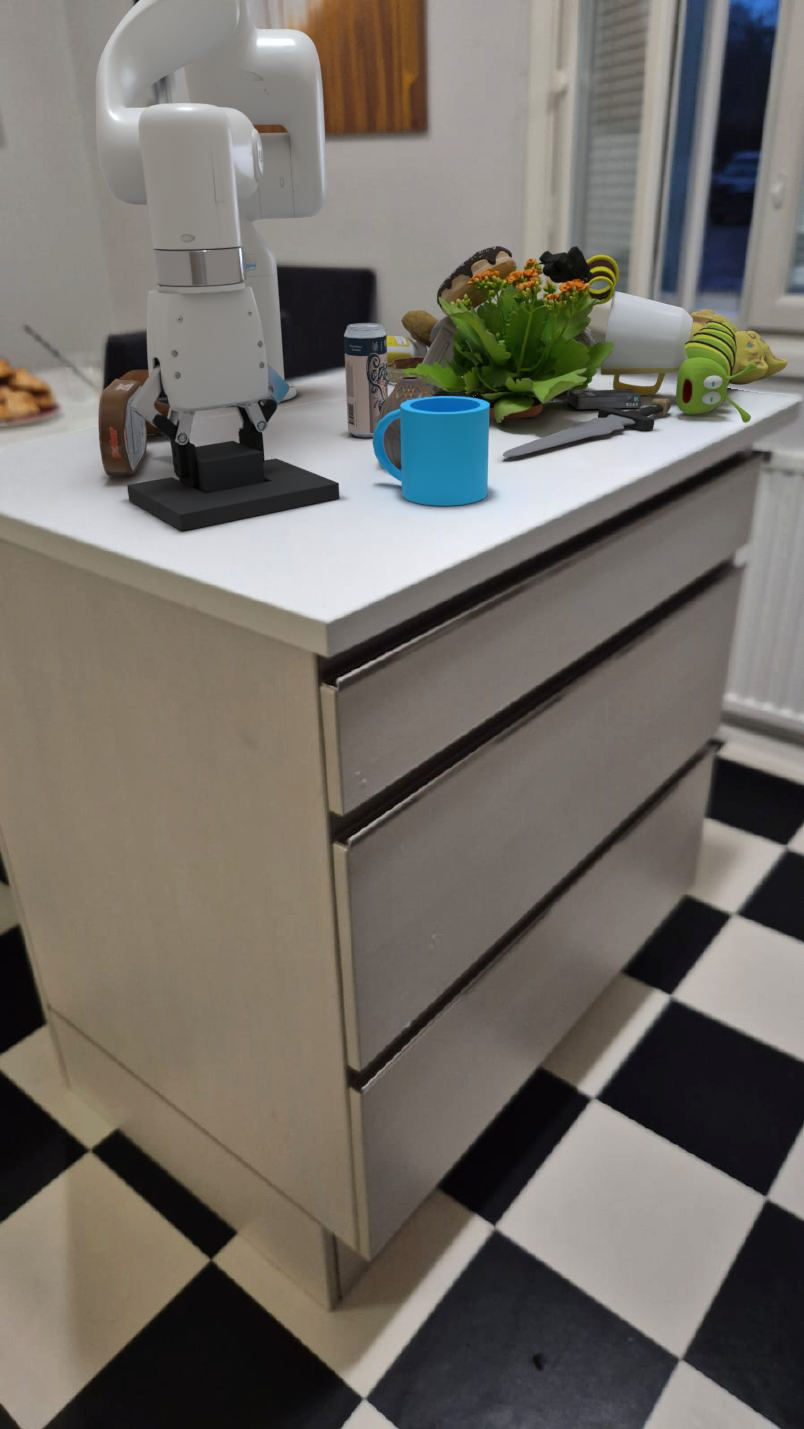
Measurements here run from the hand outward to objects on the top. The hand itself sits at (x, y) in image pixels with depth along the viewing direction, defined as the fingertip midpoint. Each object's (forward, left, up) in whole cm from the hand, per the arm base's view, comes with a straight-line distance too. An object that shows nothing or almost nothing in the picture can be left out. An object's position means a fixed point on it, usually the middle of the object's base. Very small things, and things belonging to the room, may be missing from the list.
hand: (221, 476), depth 94 cm
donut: (-19, +48, +11) cm, 53 cm away
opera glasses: (-13, +56, +12) cm, 59 cm away
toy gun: (-13, +52, +16) cm, 56 cm away
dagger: (-3, +58, 0) cm, 58 cm away
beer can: (-12, +25, -2) cm, 28 cm away
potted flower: (-12, +45, -2) cm, 46 cm away
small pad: (0, 0, -1) cm, 1 cm away
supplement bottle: (-45, +46, +2) cm, 64 cm away
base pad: (+2, 0, -2) cm, 3 cm away
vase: (+2, +21, -2) cm, 21 cm away
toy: (-2, +69, +4) cm, 69 cm away
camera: (-30, +48, 0) cm, 56 cm away
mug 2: (-3, +69, +4) cm, 69 cm away
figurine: (-15, +81, +3) cm, 83 cm away
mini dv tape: (-4, +56, -1) cm, 57 cm away
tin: (-16, -3, -2) cm, 16 cm away
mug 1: (+11, +16, -2) cm, 20 cm away
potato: (-28, +4, -2) cm, 29 cm away
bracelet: (-37, +50, -2) cm, 62 cm away
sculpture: (-37, +56, +4) cm, 67 cm away
